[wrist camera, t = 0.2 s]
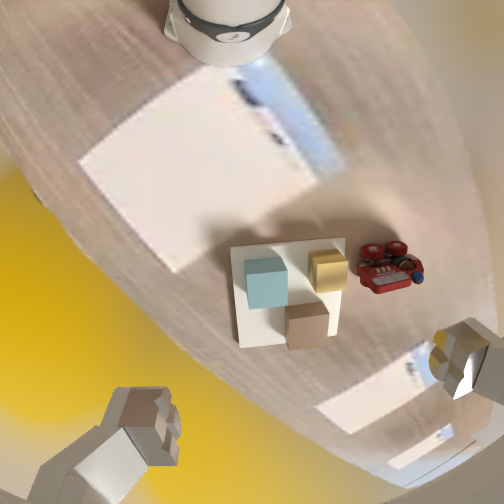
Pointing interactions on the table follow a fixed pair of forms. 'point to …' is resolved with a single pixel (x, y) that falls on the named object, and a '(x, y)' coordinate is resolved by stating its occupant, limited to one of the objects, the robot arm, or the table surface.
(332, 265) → the ochre block
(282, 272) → the teal block
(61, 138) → the table surface
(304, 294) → the board
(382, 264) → the toy fire truck
